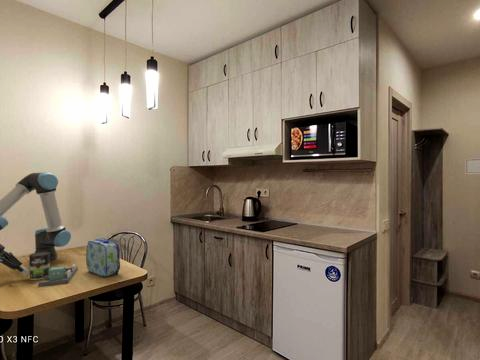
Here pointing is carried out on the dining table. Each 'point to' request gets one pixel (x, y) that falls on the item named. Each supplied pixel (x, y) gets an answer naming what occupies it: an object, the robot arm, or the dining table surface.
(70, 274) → the rack
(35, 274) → the coffee can
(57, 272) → the teal box
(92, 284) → the dining table surface
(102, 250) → the lunch box
